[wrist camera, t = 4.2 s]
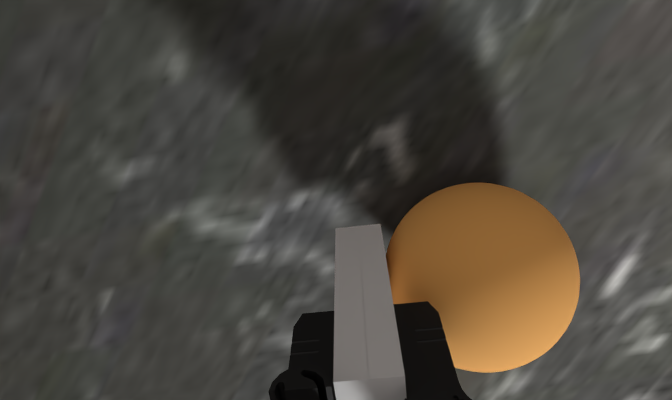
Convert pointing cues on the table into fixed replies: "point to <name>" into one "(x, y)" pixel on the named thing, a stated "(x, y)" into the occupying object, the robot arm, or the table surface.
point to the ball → (487, 273)
